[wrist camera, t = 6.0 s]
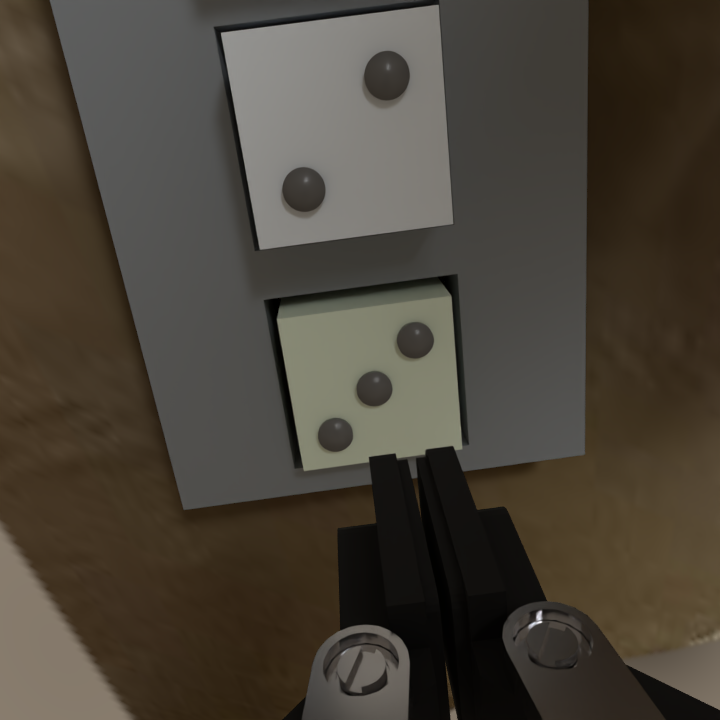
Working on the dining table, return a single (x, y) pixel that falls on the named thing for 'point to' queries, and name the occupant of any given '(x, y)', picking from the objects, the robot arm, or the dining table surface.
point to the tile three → (371, 371)
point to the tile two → (342, 125)
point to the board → (343, 256)
